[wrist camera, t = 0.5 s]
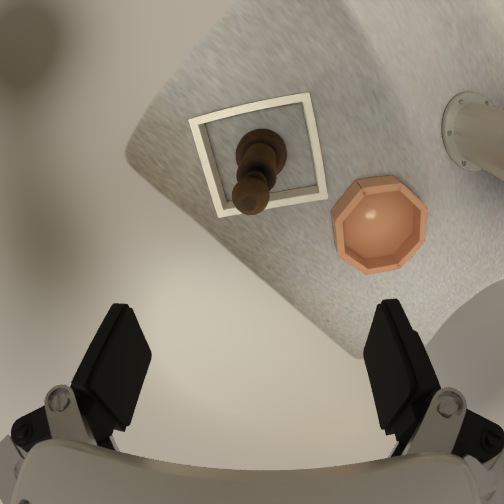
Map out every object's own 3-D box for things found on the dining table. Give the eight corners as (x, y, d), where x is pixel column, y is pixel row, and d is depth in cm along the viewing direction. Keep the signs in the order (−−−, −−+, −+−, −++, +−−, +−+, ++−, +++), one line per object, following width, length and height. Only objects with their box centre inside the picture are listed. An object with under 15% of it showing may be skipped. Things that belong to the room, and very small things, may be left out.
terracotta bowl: (417, 172, 36) (427, 180, 33) (414, 252, 43) (422, 264, 40) (327, 183, 38) (331, 192, 35) (336, 265, 45) (340, 279, 42)
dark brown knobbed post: (282, 178, 39) (284, 245, 24) (235, 172, 39) (205, 235, 24) (289, 132, 35) (298, 167, 20) (240, 126, 35) (209, 156, 20)
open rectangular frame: (306, 92, 32) (309, 92, 29) (324, 191, 39) (328, 198, 36) (194, 117, 35) (188, 119, 32) (222, 209, 42) (218, 217, 39)
